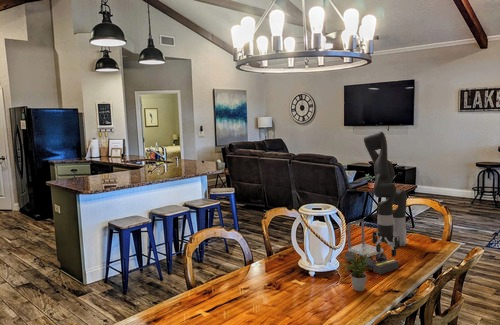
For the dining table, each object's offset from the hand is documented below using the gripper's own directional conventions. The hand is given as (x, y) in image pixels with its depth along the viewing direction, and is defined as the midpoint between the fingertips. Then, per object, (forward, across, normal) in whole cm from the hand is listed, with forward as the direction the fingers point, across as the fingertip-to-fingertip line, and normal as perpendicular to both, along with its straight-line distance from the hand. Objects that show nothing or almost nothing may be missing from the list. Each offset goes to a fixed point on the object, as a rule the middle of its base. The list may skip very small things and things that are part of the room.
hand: (386, 254), depth 193 cm
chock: (+8, 0, -1) cm, 8 cm away
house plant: (+8, +4, -26) cm, 28 cm away
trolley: (+8, -12, 0) cm, 15 cm away
